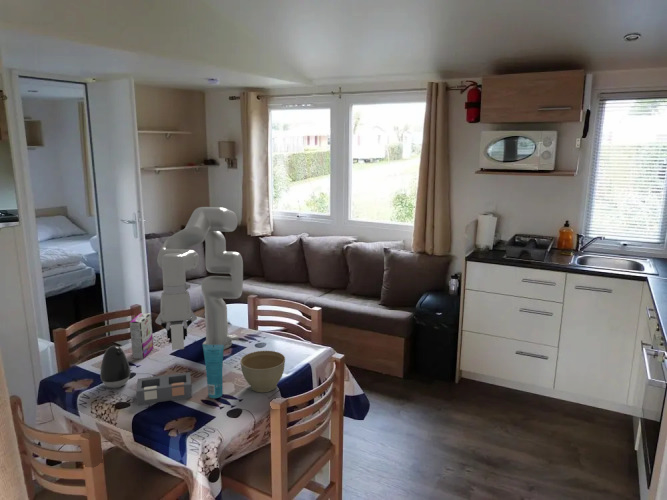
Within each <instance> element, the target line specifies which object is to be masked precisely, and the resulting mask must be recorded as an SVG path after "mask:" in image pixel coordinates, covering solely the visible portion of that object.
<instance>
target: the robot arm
mask: <svg viewBox="0 0 667 500" xmlns="http://www.w3.org/2000/svg"><path fill="white" fill-rule="evenodd" d="M184 227H185V228H184V229H183V228H182V230H179V231H178V232H176V233H174V234H172V235H171V236H169V237H168V238H167V239H165V241H164V242H163V244H162V245H161V247H160V248H159V251H158V255H157V260H156V262H157V265H158V267H159V268H160V269H161V271H162V288H163V290H162V291H163V292H161V295H160V312H159V314H158V316H157V317H156V319H155V323H156V324H157V325H160V326H161V327H162V328H163V329H164V330H166V335H167V336H166V338H167V339H169V342H172V339H171V322H175V321H183V338H184V341H185V340H186V338H187V337H188V328H189V326H190V325H191V324H192V323H193V322H195V321H197V319H198V317H197V315H196V313H194V311H193V310H192V307H191V306H192V305H191V298H190V293H189V291H188V290H189V289H191V284H187V280H186V279H187V278H186V272H189V271H193V270H195V269H196V268H197V267H198V266H199V263H200V255H199V253H198V252H197V251H195V250H193V249H189V248H192V247H196V246H198V245H200V244H202V243H203V242H205V258H204V259H205V260H204V261H205V269H206V271H207V272H208V273H212V274H229V275H230V276H222V275H221V276H220V275H210V276H206V277H205V278H203V279H202V282H201V285H200V287H201V292H202V297H203V303H204V318H205V319H204V322H205V323H204V324H205V340H204V341H203V342H202V345H203V344H209V345H224V350H226V349H228V348H230V347H232V345H233V341H239V340H240V337H239V335H236V334H229V328H228V325H229V324H228V307H227V304H226V301H224V300H225V299H229V300H231V299H232V300H236V299H240V298H241V297H242V294H243V289H244V287H243V285H244V284H243V283H244V261H243V260H244V259H243V257H242V255H241V253H240V252H237V251H227V247H226V245H227V244H226V243H227V242H226V238H225V236H224V234H223V233H222V232H226V233H227V232H228V233H229V232H234V231H235V230H236V229H237V227H238V217H237V214H236V212H234V211H233V210H230V209H228V208H226V207H222V206H221V207H220V206H216V207H215V206H201V207H200V206H199V207H197V208H195V209H194V210H193V212H192V214H191V216H190V217H189V219H188V221H187V223H186V225H185V226H184Z"/></svg>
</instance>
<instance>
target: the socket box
mask: <svg viewBox="0 0 667 500" xmlns="http://www.w3.org/2000/svg"><path fill="white" fill-rule="evenodd" d="M136 383H137V384H136V388H135V389H136V391H135V392H136V404H137V406H139V405H140V406H141V405H147V404H154V403H160V402H161V403H162V402H168V401H169V402H170V401H174V400H183V399H190V398H193V393H192V391H193V390H192V380H191V371H187V372H180V373H172V374H164V375H157V376H156V375H155V376H148V377H139V378H137V382H136Z"/></svg>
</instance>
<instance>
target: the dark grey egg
mask: <svg viewBox="0 0 667 500" xmlns="http://www.w3.org/2000/svg"><path fill="white" fill-rule="evenodd" d="M130 376H131V367H130V364H129V360H128V358H127V356H126V353H125V352H124V350H123V349H122V348H121V347H120V346H118V345H112V346H109V347H108V348H107V349H106V350H105V351H104V354H103V357H102V360H101V365H100V380H101V382H102V384H103V385H104V386H105V387H107V388H109V389H117V388H120V387H121V388H122V387H123V386H125V385H126V384H127V383H128V381H129V380H130Z"/></svg>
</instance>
